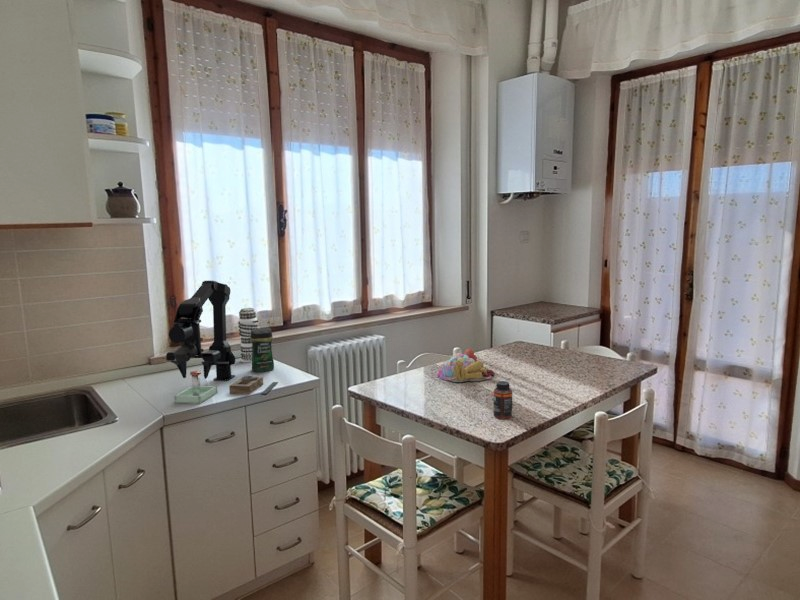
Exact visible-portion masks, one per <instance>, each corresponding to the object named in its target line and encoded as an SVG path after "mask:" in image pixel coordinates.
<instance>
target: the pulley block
mask: <svg viewBox="0 0 800 600" xmlns="http://www.w3.org/2000/svg"><path fill="white" fill-rule="evenodd" d="M263 385H264V377H263V376H258V375H257V374H249V375H248V374H247V375H244V376H242V377H241V378H239V379H238V380H237V381H235V382H233V383H231V384H230V385H229V394H237V395H238V394H239V395H241V394H242V395H251V394H252V393H253V392H255V391H257V390H258V388H260V387H262V386H263Z"/></svg>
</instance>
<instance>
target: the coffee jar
mask: <svg viewBox="0 0 800 600" xmlns="http://www.w3.org/2000/svg"><path fill="white" fill-rule="evenodd" d="M273 338H274V337H273V331H272V329H271V328H270V327H267V328H258V329H253V330H251V335H250V340H251V342H252V362H251V370H252V372H256V373H257V372H258V373H260V372H268V371H272V370H273V369H274V368H275V360H274V356H273V348H272V347H273V345H272V341H273Z"/></svg>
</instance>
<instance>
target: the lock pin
mask: <svg viewBox="0 0 800 600" xmlns="http://www.w3.org/2000/svg"><path fill="white" fill-rule="evenodd" d="M201 373H202V371H201V370H192V371H190V373H189V376H191V386H192V390H193V396H200V386H201V381H200V375H201Z"/></svg>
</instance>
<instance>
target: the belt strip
mask: <svg viewBox="0 0 800 600" xmlns="http://www.w3.org/2000/svg"><path fill="white" fill-rule="evenodd" d="M278 383H279V382H278V381H273V382H271V384H269V385H268V386H267V387H266V388H265V389H264V390H263V391H262V392H261V393H260V394H261V395H267V394H269V393H270V392H271V391H272V390H273V388H275V387H276V386H277V385H278Z"/></svg>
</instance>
